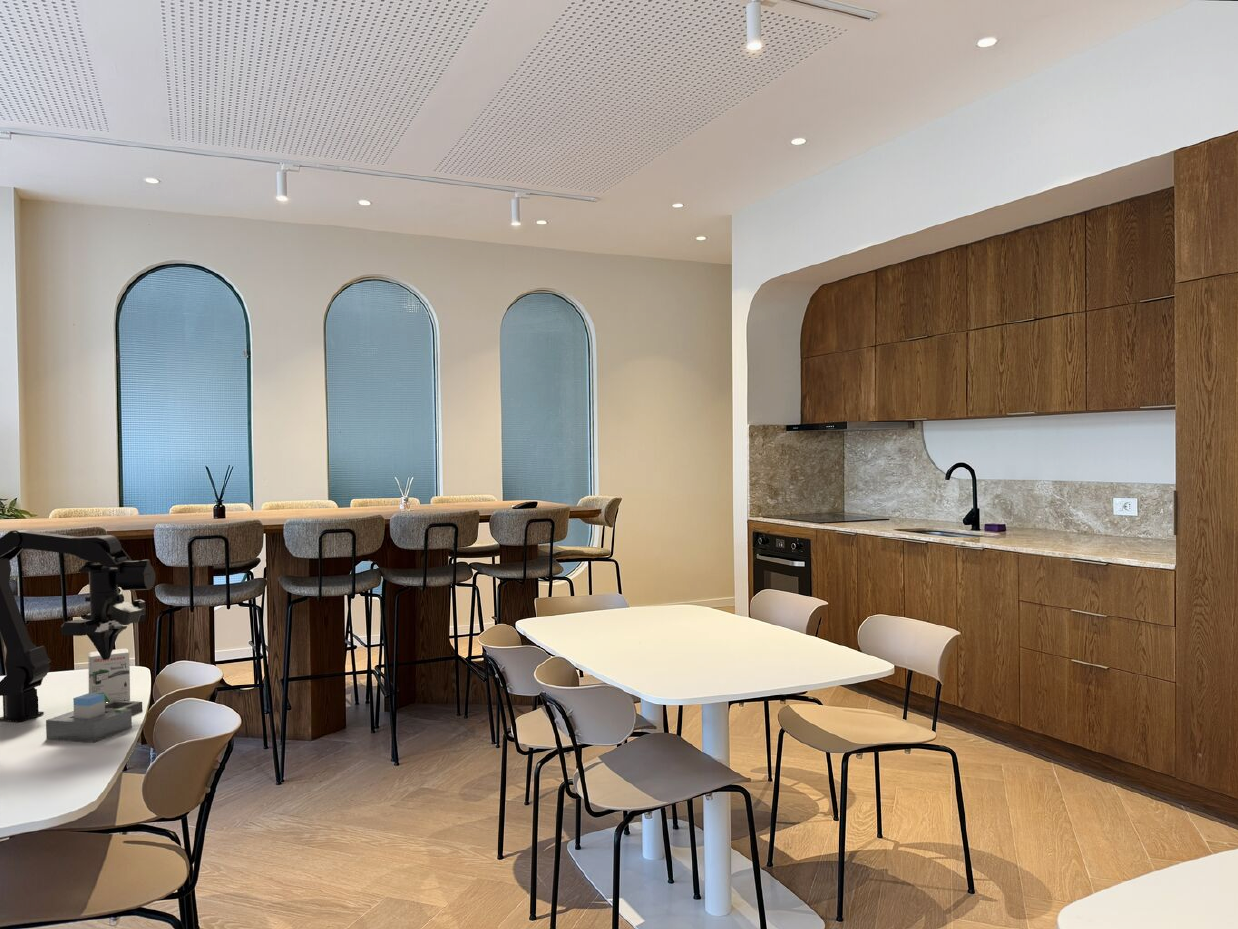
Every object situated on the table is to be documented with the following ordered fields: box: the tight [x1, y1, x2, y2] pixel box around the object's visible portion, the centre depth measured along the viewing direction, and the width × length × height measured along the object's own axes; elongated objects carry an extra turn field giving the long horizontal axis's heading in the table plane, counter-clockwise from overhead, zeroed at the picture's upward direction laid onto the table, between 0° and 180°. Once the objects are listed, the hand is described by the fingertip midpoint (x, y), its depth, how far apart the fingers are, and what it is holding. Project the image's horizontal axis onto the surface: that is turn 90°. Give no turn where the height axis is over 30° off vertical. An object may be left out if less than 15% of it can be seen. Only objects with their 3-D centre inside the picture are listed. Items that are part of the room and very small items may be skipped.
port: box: [45, 708, 133, 744], centre depth 189 cm, size 12×10×4 cm
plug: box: [72, 692, 105, 719], centre depth 189 cm, size 4×4×8 cm
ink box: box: [87, 648, 131, 703], centre depth 215 cm, size 9×5×12 cm, turn 123°
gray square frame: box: [105, 700, 143, 715], centre depth 203 cm, size 8×8×2 cm
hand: (106, 659), depth 203 cm, fingers closed
